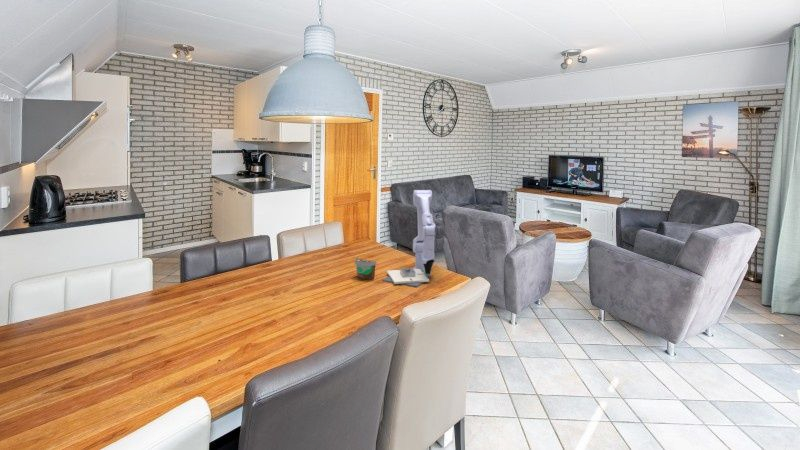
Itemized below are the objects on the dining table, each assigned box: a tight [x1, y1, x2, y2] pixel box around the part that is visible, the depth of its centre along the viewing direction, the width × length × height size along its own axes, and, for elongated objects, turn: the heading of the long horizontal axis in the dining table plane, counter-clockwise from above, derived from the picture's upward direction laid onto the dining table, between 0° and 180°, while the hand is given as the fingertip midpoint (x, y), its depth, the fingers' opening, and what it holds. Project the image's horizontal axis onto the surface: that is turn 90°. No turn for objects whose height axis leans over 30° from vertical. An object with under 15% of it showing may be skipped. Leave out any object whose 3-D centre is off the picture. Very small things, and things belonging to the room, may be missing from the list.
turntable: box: [386, 269, 431, 285], centre depth 212 cm, size 18×21×4 cm
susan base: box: [382, 274, 432, 288], centre depth 212 cm, size 19×19×1 cm
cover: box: [399, 267, 416, 277], centre depth 212 cm, size 6×6×4 cm
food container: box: [354, 257, 377, 281], centre depth 210 cm, size 12×6×10 cm, turn 62°
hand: (427, 273), depth 212 cm, fingers closed
